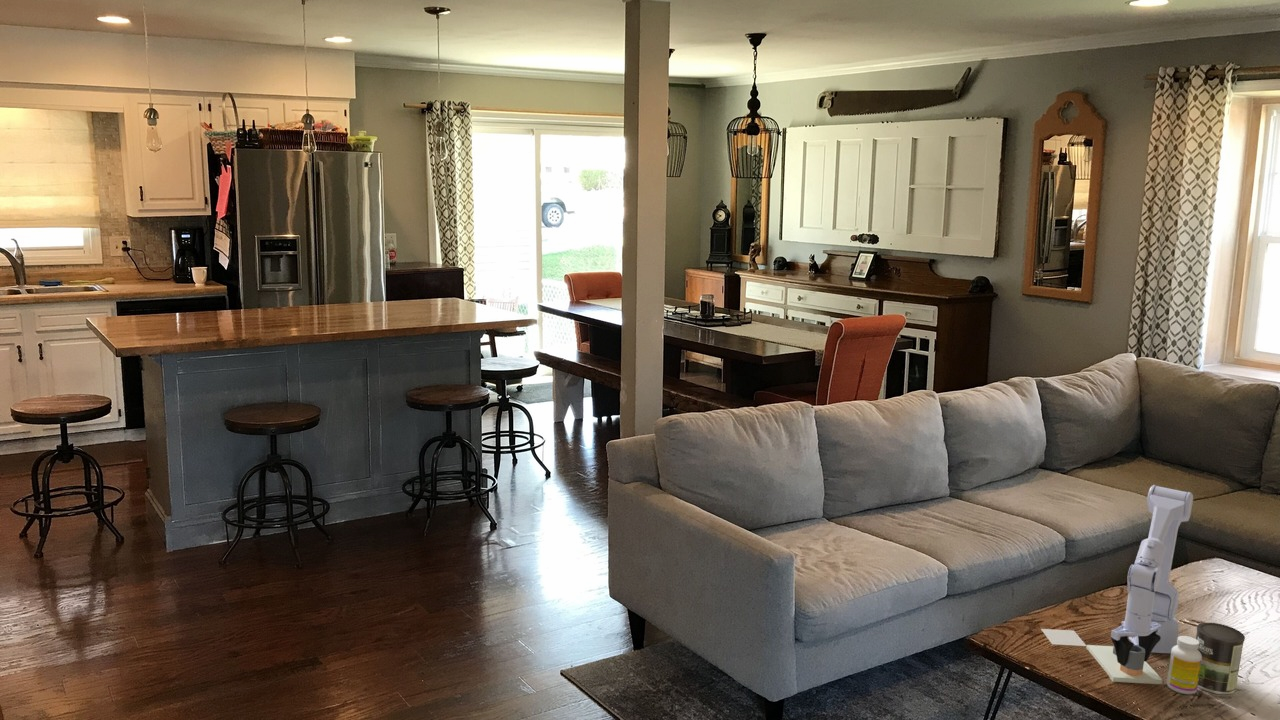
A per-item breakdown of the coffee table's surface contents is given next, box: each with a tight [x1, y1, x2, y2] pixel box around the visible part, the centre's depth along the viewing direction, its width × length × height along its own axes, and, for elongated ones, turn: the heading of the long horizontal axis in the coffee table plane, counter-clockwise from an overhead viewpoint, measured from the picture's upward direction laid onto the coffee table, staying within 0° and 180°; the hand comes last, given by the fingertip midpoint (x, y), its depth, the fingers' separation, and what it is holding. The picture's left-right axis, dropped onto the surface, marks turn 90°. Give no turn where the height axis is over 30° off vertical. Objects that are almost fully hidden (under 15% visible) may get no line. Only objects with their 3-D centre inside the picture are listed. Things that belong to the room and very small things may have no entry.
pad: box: [1040, 628, 1087, 647], centre depth 269 cm, size 9×9×1 cm
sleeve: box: [1120, 645, 1145, 676], centre depth 250 cm, size 5×5×6 cm
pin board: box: [1085, 644, 1163, 685], centre depth 254 cm, size 12×17×5 cm
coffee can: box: [1195, 622, 1246, 696], centre depth 246 cm, size 10×10×14 cm
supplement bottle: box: [1166, 635, 1202, 695], centre depth 243 cm, size 7×7×13 cm
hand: (1132, 661), depth 250 cm, fingers open, 6 cm apart
